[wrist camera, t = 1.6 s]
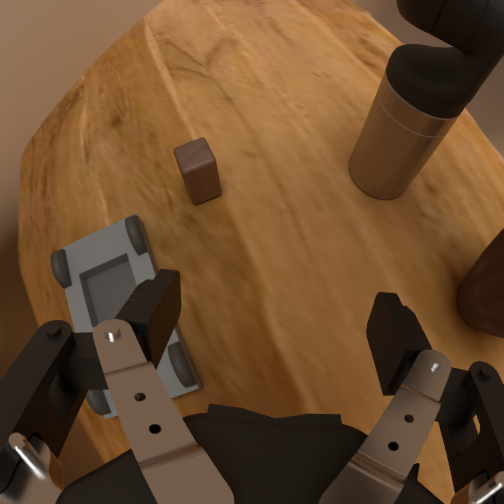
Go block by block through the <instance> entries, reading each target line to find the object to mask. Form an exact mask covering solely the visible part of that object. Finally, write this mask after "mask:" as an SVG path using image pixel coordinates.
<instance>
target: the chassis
mask: <svg viewBox="0 0 504 504" xmlns="http://www.w3.org/2000/svg"><path fill="white" fill-rule="evenodd" d="M51 267H52V271H53V274H54V276H55V278H56V280H57V281H58V283H59V284H60V285H61V286H62V287H63V288H64V289H65V292H66V297H67V301H68V305H69V309H70V313H71V317H72V321H73V325H74V329H75V333H79V332H93V330H94V328H95V327H96V326H97V325H98V324H99V323H101V322H103V321H106V320H110V319H114V318H115V317H116V315H117V314H118V313H119V311H120V310H121V308H122V307H123V305H124V304H125V302H126V301H127V300H128V298H129V297H130V295H131V294H133V291H134V290H135V288H136V287H137V285H138V284H140V283H142V282H143V281H145V280H146V279H151V280H153V279H154V277H155V276H156V274H157V273H158V270H157V267H156V264H155V261H154V258H153V255H152V252H151V249H150V245H149V242H148V239H147V236H146V233H145V230H144V226H143V223H142V221H141V220H140V218H139V217H138V215H137V214H134V215H131V216H129V217H127V218H125V219H122V220H120V221H118V222H116V223H114V224H111V225H109V226H107V227H105V228H103V229H101V230H98V231H96V232H94V233H92V234H90V235H88V236H86V237H84V238H82V239H79V240H77V241H75V242H73V243H71V244H69V245H67V246H65V247H63V248H61V249H59V250H58V251H56V252H54V253H53V254H52V255H51ZM156 371H157V373H158V375H159V377H160V379H161V381H162V383H163V385H164V387H165V389H166V391H167V392H168V394H169V396H170V398H174V397H177V396H180V395H182V394H185V393H188V392H191V391H193V390H196V389H199V388H201V387H203V386H202V384H201V382H200V379H199V377H198V375H197V372H196V370H195V368H194V365H193V363H192V360H191V358H190V356H189V353H188V351H187V348H186V346H185V343H184V341H183V338H182V336H181V333H180V330H179V328H178V325H177V324H176V326H175V328H174V330H173V333H172V335H171V337H170V340H169V342H168V344H167V347H166V349H165V351H164V353H163V356H162V358H161V360H160V363H159V365H158V368H157V370H156ZM86 399H87V401H88V403H89V405H90V407H91V408H92V409H93V410H94V411H95V412H96V413H97V414H99V415H103V416H104V418H105V419H108V418H111V417H115V416H118V414H117V411H116V408H115V405H114V403H113V400H112V397H111V394H110V391H109V390H88V392H87V394H86Z"/></svg>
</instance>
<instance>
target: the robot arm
mask: <svg viewBox="0 0 504 504" xmlns="http://www.w3.org/2000/svg"><path fill="white" fill-rule="evenodd" d="M397 6H398V9H399V12H400V14H401V15H402V17H403V18H404V19H405V20H407V21H408V22H409V23H411V24H412V25H414V26H415V27H417V28H419V29H421V30H423V31H424V32H427V33H430V34H431V35H433V36H435V37H436V38H439V39H440V40H442V41H444V42H446V43H448V44H450V45H451V46H453V47H449V48H441V47H431V46H426V45H420V44H406V45H402V46H399V47H398V48H396V49H395V50H394V51H393V53H392V54H391V56H390V59H389V61H388V64H387V67H386V70H385V72H384V75H383V78H382V80H381V83H380V85H379V88H378V91H377V93H376V96H375V99H374V101H373V104H372V106H371V109H370V111H369V114H368V116H367V119H366V121H365V124H364V126H363V128H362V131H361V133H360V136H359V138H358V140H357V143H356V145H355V147H354V150H353V152H352V155H351V157H350V160H349V171H350V175H351V177H352V179H353V181H354V182H355V183H356V185H357V186H358V187H359V188H360V189H361V190H362V191H364V192H365V193H367V194H368V195H370V196H373V197H375V198H379V199H386V200H388V199H394V198H396V197H398V196H400V195H401V194H402V193H403V192H404V191H405V189H406V188H407V187H408V186H409V184H410V183H411V182H412V180H413V179H414V178H415V177H416V175H417V174H418V173H419V171H420V170H421V169H422V167H423V166H424V165H425V163H426V162H427V161H428V159H429V158H430V157H431V155H432V154H433V152H434V151H435V150H436V148H437V147H438V146H439V144H440V143H441V141H442V140H443V139H444V137H445V136H446V134H447V133H448V131H449V130H450V128H451V127H452V125H453V124H454V123H455V121H456V120H457V118H458V117H459V115H460V114H461V112H462V111H463V109H464V108H465V106H466V105H467V104H468V103H469V102H470V101H471V100H472V99H473V97H474V96H475V94H476V93H477V91H478V90H479V88H480V87H481V85H482V84H483V83H484V81H485V80H486V79H487V77H488V76H489V74H490V73H491V71H492V70H493V69H494V68H495V66H496V65H497V64H498V62H499V61H500V59H501V58H502V57H503V55H504V0H397ZM180 312H181V286H180V273H179V271H176V270H168V269H160V270H159V271H158V273H157V274H156V276H155V277H154V279H153V280H151V279H146V280H145V281H143V282H142V283H140V284H138V285H137V287H136V288H135V290H134V291H133V294H131V295H130V297H129V298H128V300H127V301H126V302H125V304H124V305H123V307H122V308H121V310H120V311H119V313H118V314H117V315H116V317H115V318H114V319H110V320H106V321H103V322H101V323H99V324H98V325H97V326H96V327H95V328H94V330H93V332H79V333H73V331H72V328H71V326H70V324H69V323H67V322H65V321H62V320H53V321H49V322H47V323H45V324H43V325H42V326H41V327H40V328H39V329H38V330H37V332H36V333H35V334H34V335H33V337H32V338H31V339H30V341H29V342H28V343H27V345H26V346H25V348H24V349H23V350H22V352H21V353H20V354H19V356H18V357H17V358H16V360H15V362H14V363H13V364H12V366H11V367H10V368H9V370H8V371H7V373H6V374H5V376H4V377H3V379H2V380H1V381H0V504H444V503H443V502H442V501H440V500H439V499H438V498H437V497H436V496H435V495H433V494H432V493H431V492H430V491H429V490H428V489H427V488H425V487H424V486H423V485H422V484H421V483H420V482H419V481H418V480H416V479H415V478H414V477H413V476H412V475H411V474H410V473H409V472H410V470H411V468H412V466H413V464H414V462H415V460H416V459H417V457H418V455H419V453H420V451H421V449H422V447H423V444H424V442H425V440H426V438H427V436H428V434H429V432H430V429H431V427H432V425H433V423H434V421H437V422H439V426H440V430H441V434H442V437H443V441H444V445H445V449H446V454H447V458H448V462H449V467H450V471H451V476H452V481H453V486H454V491H455V495H454V496H453V498H452V500H451V504H504V384H503V382H502V380H501V378H500V376H499V374H498V372H497V371H496V370H495V368H494V367H492V366H491V365H489V364H488V363H485V362H481V361H478V362H474V363H473V364H472V365H471V366H470V368H469V370H468V371H466V370H461V369H457V368H453V367H451V363H450V361H449V359H448V358H447V357H446V356H445V355H444V354H442V353H440V352H438V351H436V350H433V349H432V347H431V345H430V343H429V341H428V339H427V337H426V335H425V333H424V331H423V330H422V327H421V325H420V323H418V322H419V321H418V319H417V318H416V316H415V314H414V313H413V312H412V311H411V310H410V309H409V308H408V307H407V306H403V305H402V303H401V301H400V299H399V297H398V295H397V294H396V293H386V292H378V294H377V295H376V298H375V301H374V305H373V308H372V311H371V314H370V317H369V320H368V323H367V330H366V334H367V339H368V343H369V346H370V349H371V353H372V356H373V360H374V363H375V367H376V371H377V374H378V378H379V382H380V385H381V389H382V393H383V396H389V395H394V397H393V399H392V401H391V402H390V404H389V405H388V407H387V409H386V410H385V412H384V413H383V415H382V416H381V418H380V419H379V421H378V422H377V424H376V425H375V427H374V428H373V430H372V431H371V433H370V434H369V436H368V435H366V434H365V433H363V432H361V431H360V430H358V429H356V428H353V427H351V426H348V425H344V424H342V422H341V414H304V415H298V416H291V417H284V418H272V417H269V416H265V415H262V414H259V413H256V412H252V411H249V410H246V409H243V408H237V407H229V406H221V405H214V404H209V407H208V412H207V413H199V414H193V415H189V416H186V417H183V418H181V416H180V414H179V412H178V410H177V409H176V407H175V405H174V403H173V402H172V400H171V398H170V396H169V394H168V392H167V391H166V389H165V387H164V385H163V383H162V381H161V379H160V377H159V375H158V373H157V371H156V370H157V368H158V365H159V363H160V360H161V358H162V356H163V353H164V351H165V349H166V347H167V344H168V342H169V340H170V337H171V335H172V333H173V330H174V328H175V326H176V324H177V321H178V319H179V316H180ZM88 390H109V391H110V394H111V397H112V400H113V403H114V405H115V408H116V411H117V414H118V416H119V419H120V421H121V424H122V427H123V429H124V432H125V434H126V436H127V439H128V441H129V444H130V446H131V449H129V450H128V451H126V452H124V453H123V454H121V455H119V456H118V457H116V458H114V459H113V460H111V461H109V462H107V463H106V464H104V465H102V466H100V467H99V468H97V469H96V470H93V471H92V472H90V473H88V474H86V475H84V476H82V477H80V478H79V479H77V480H75V481H73V482H72V483H70V484H69V485H68V486H66V487H65V488H64V489H63V477H64V470H63V467H62V465H61V463H60V462H59V460H58V457H59V455H60V452H61V450H62V448H63V445H64V443H65V441H66V438H67V436H68V434H69V432H70V429H71V427H72V425H73V423H74V420H75V418H76V416H77V414H78V412H79V409H80V407H81V405H82V403H83V401H84V399H85V397H86V394H87V392H88ZM475 415H477V418H478V420H479V423H480V433H479V435H478V432H477V429H476V426H475V423H474V420H473V418H474V416H475Z"/></svg>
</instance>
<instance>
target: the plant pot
mask: <svg viewBox="0 0 504 504" xmlns="http://www.w3.org/2000/svg"><path fill="white" fill-rule="evenodd" d="M457 303H458V309H459V312H460V315H461V317H462V318H463V320H464V321H465V322H466V323H467V324H468V325H469V326H471V327H473V328H475V329H477V330H479V331H482V332H485V333H487V334H490V335H493V336H497V337H501V338H504V228H503V229H502V231H501V232H500V233H499V234H498V235H497V236H496V237H495V238H494V240H493V241H492V242H491V243H490V244H489V245H488V247H487V248H486V249H485V250H484V252H483V253H482V254H481V256H480V257H479V258H478V260H477V261H476V262H475V264H474V265H473V267H472V268H471V270H470V271H469V273H468V274H467V276H466V277H465V279H464V281H463V282H462V284H461V286H460V288H459V291H458V297H457Z"/></svg>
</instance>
